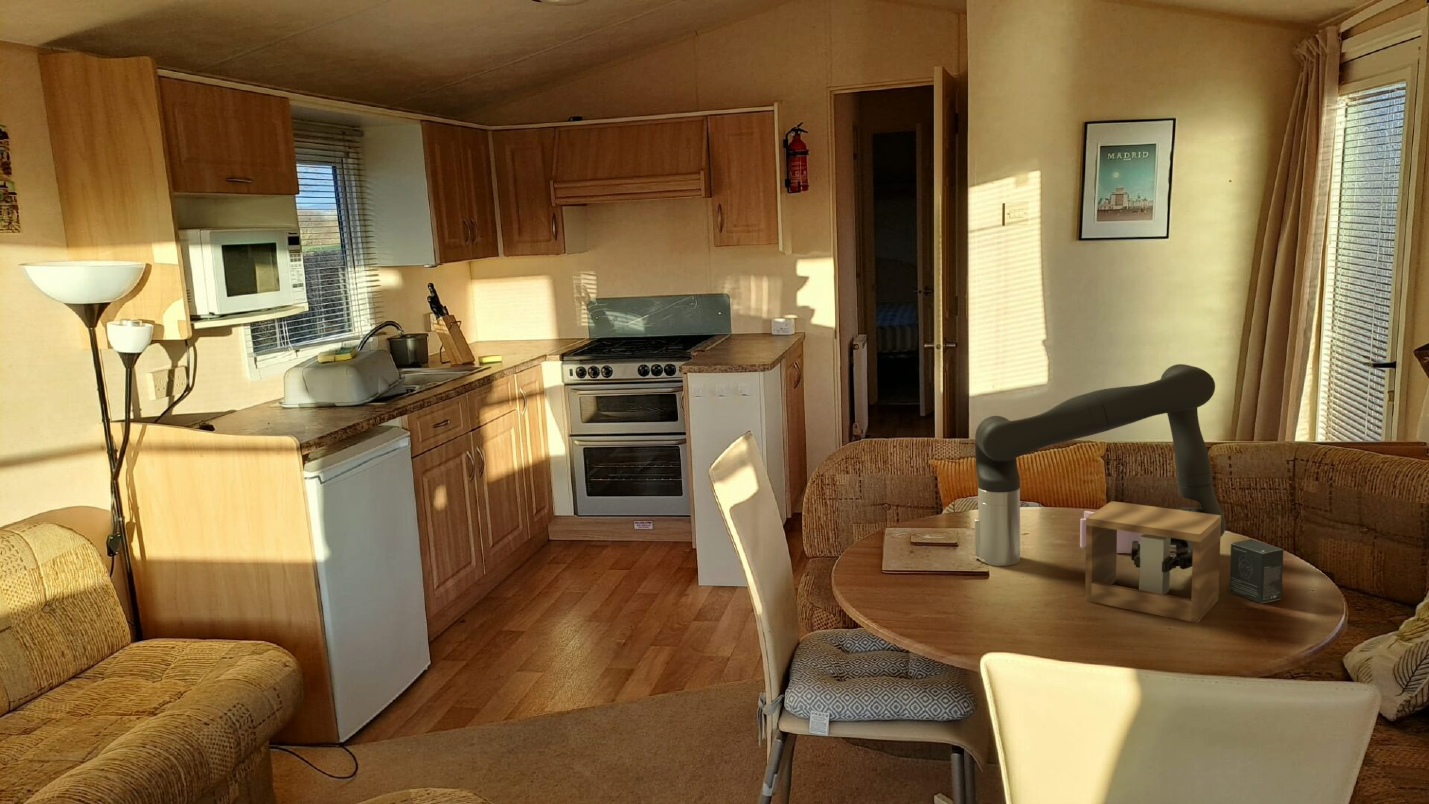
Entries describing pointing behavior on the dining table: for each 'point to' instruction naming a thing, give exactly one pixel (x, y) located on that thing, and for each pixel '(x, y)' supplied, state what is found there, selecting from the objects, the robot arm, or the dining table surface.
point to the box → (1256, 571)
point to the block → (1154, 563)
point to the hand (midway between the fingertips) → (1150, 565)
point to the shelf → (1157, 523)
